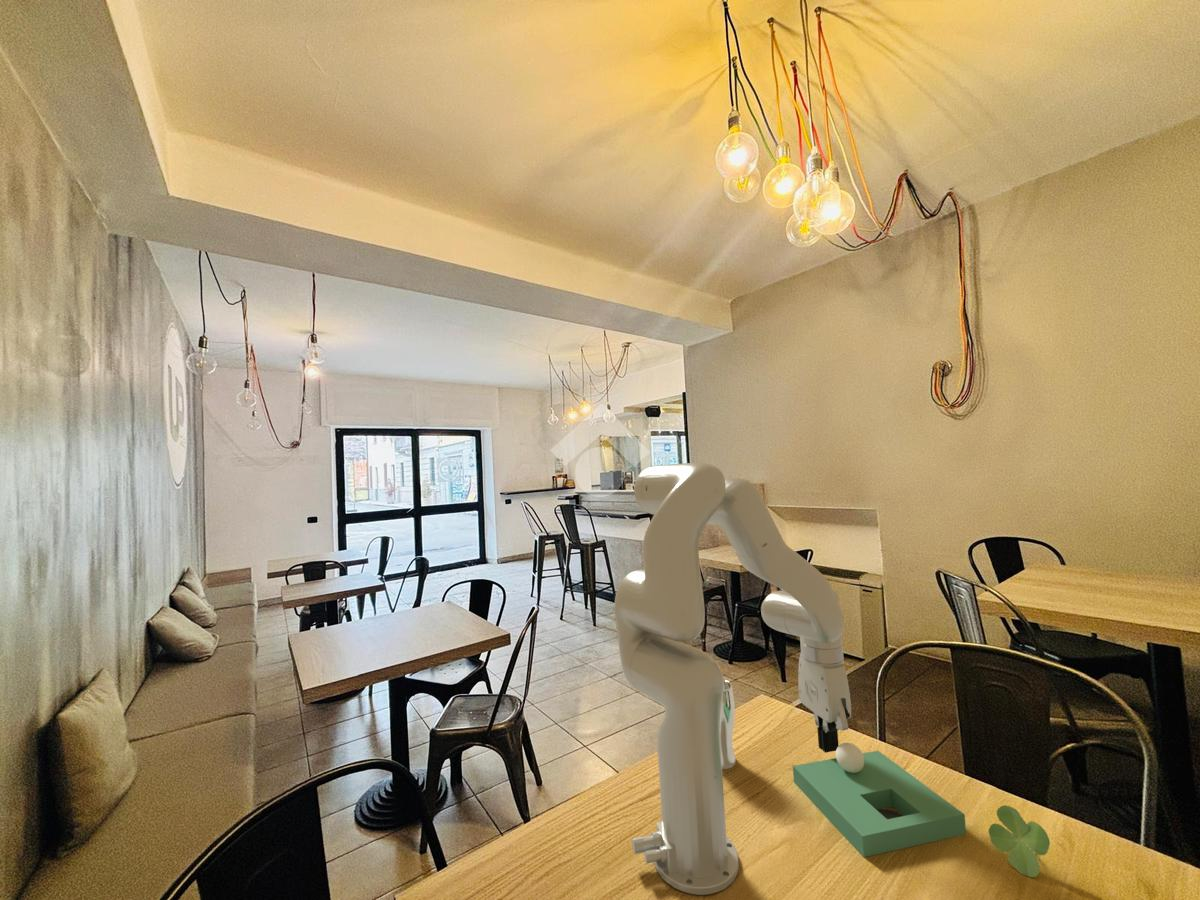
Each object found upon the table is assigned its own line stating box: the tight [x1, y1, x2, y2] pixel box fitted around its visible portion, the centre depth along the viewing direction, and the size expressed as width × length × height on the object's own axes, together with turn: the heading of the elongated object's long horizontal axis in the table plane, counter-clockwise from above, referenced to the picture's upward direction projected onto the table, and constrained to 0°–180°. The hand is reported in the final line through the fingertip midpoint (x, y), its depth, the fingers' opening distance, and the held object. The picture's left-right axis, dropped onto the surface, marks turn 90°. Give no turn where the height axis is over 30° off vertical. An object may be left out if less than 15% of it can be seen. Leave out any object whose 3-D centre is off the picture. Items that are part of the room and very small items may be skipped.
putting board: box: [792, 750, 967, 858], centre depth 83 cm, size 18×18×3 cm
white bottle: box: [720, 678, 736, 770], centre depth 98 cm, size 7×7×15 cm
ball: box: [835, 742, 864, 773], centre depth 88 cm, size 5×5×5 cm
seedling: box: [988, 804, 1051, 878], centre depth 71 cm, size 7×8×6 cm
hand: (828, 749), depth 93 cm, fingers closed
